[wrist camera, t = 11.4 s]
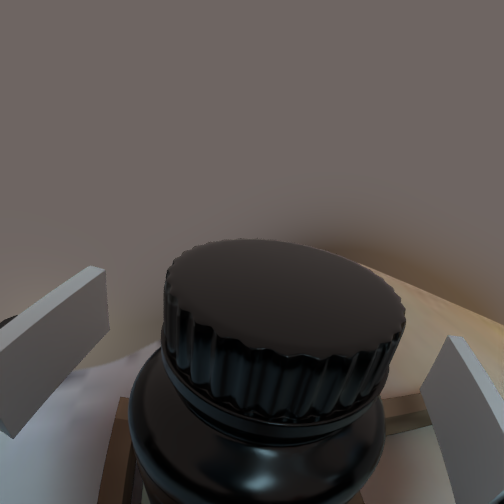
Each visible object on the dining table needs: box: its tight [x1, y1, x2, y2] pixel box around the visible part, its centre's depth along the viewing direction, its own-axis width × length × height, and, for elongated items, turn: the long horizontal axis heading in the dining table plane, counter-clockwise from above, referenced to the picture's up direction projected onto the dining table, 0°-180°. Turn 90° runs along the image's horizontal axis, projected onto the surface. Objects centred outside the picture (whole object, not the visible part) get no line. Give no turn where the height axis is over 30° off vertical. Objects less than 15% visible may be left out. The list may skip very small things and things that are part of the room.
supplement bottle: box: [128, 238, 406, 504], centre depth 8 cm, size 7×7×12 cm
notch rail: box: [97, 393, 432, 504], centre depth 12 cm, size 21×10×2 cm, turn 97°
